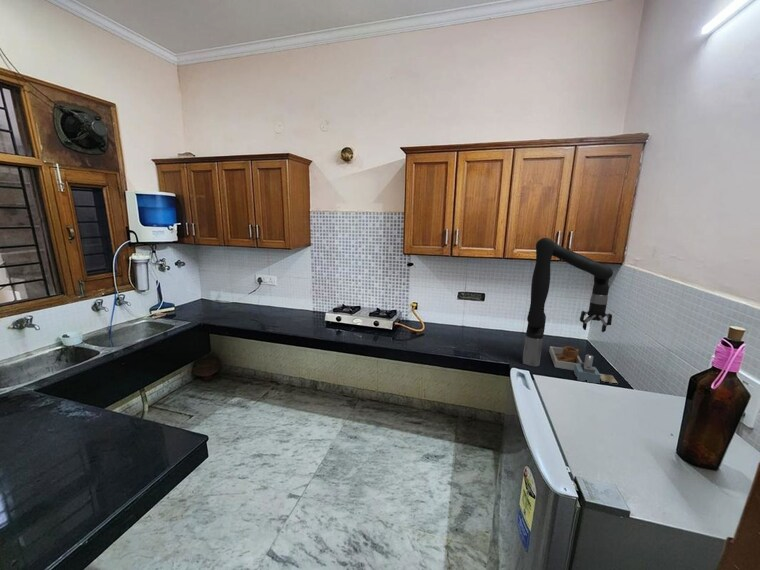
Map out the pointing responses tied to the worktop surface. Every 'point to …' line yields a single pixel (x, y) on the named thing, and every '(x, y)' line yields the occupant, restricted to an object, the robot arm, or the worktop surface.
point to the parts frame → (561, 363)
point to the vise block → (586, 373)
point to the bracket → (568, 354)
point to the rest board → (608, 378)
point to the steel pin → (588, 361)
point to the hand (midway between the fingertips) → (593, 330)
